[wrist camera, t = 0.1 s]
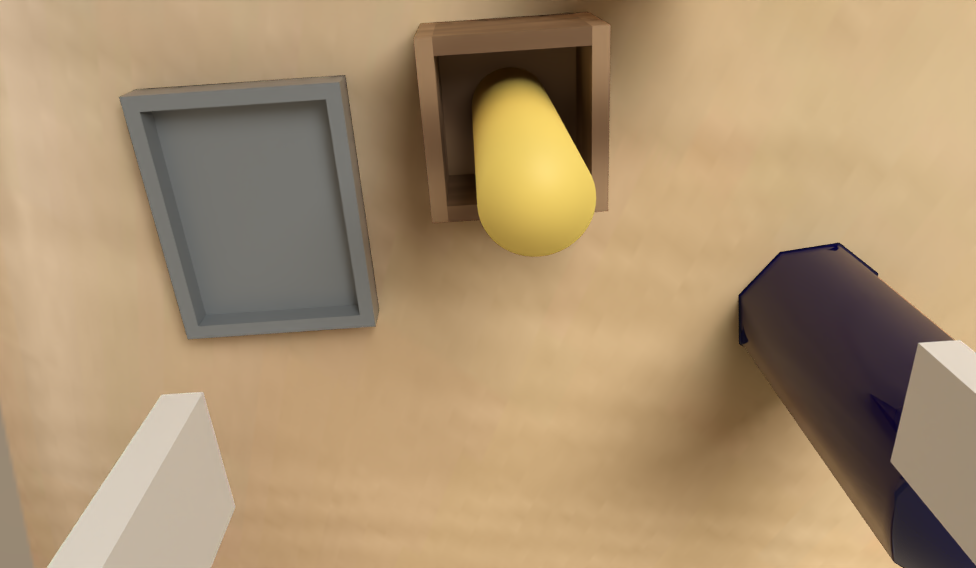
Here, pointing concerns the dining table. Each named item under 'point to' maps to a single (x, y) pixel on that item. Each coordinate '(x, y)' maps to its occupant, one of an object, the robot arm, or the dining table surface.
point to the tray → (257, 204)
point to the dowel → (527, 167)
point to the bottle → (848, 383)
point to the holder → (500, 44)
